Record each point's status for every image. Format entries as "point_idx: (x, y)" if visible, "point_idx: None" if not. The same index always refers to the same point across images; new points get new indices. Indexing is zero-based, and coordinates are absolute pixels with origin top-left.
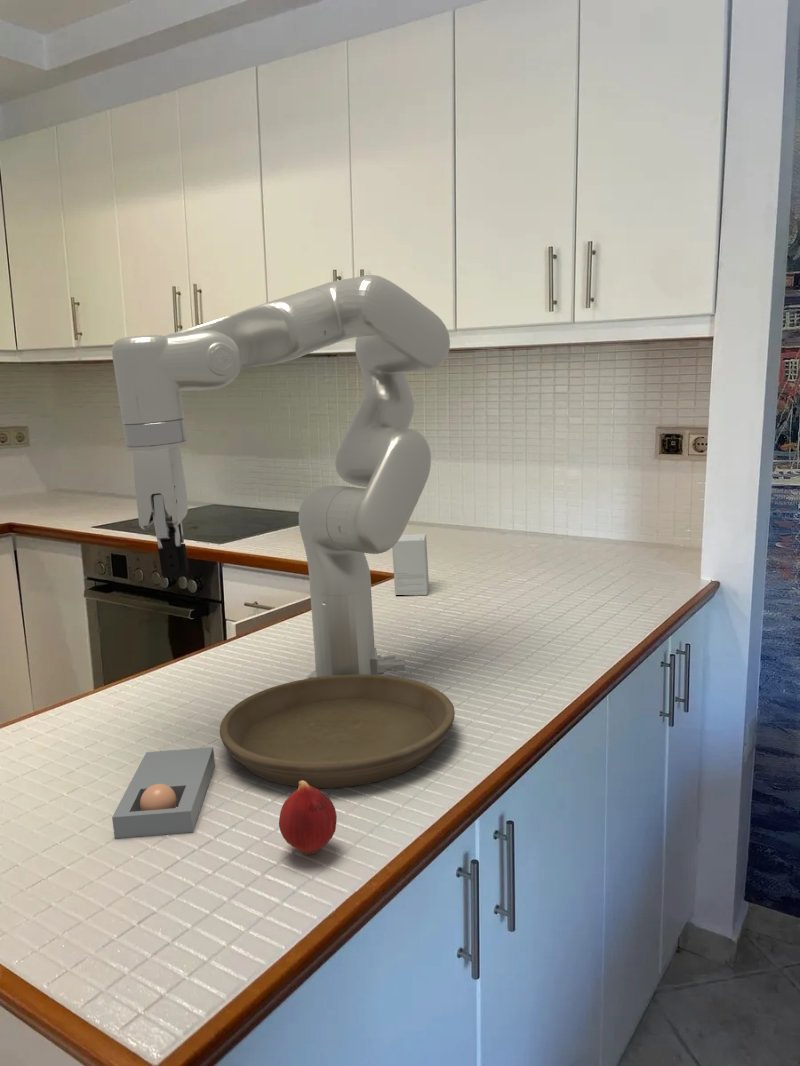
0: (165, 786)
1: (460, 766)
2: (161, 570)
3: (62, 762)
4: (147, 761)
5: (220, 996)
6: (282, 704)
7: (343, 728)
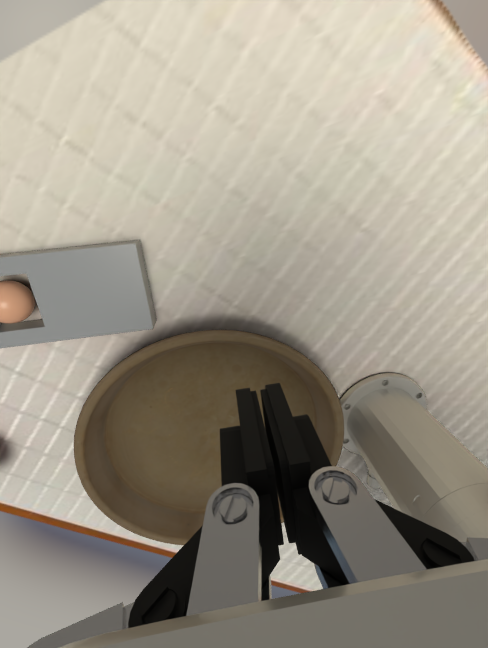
0: (4, 317)
1: None
2: (238, 402)
3: (163, 86)
4: (106, 255)
5: None
6: (296, 370)
7: None
